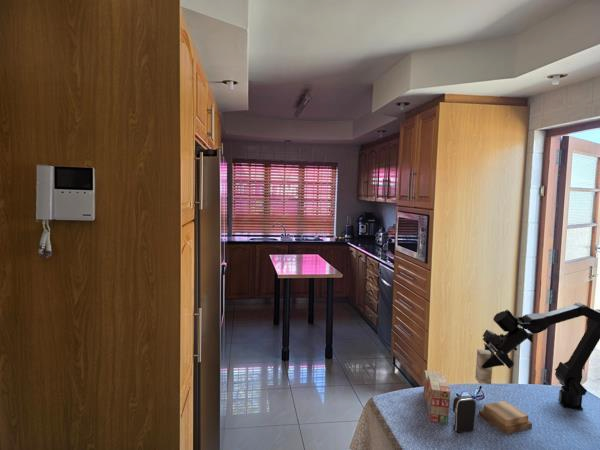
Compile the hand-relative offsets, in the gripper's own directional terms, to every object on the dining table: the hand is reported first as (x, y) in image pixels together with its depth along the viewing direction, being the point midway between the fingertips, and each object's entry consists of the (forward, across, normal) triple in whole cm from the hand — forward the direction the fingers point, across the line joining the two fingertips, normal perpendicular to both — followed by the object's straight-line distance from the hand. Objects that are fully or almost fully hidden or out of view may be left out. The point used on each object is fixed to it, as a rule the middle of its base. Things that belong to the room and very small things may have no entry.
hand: (480, 364), depth 155 cm
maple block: (+5, +16, +11) cm, 20 cm away
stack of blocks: (+23, +10, -4) cm, 25 cm away
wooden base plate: (+7, +16, +13) cm, 22 cm away
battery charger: (+18, +23, +1) cm, 29 cm away
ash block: (+4, 0, +6) cm, 7 cm away
